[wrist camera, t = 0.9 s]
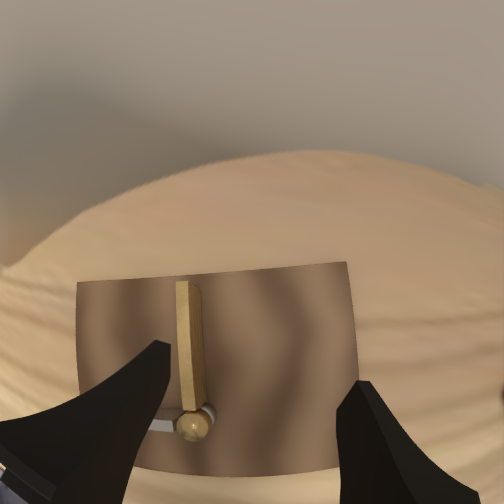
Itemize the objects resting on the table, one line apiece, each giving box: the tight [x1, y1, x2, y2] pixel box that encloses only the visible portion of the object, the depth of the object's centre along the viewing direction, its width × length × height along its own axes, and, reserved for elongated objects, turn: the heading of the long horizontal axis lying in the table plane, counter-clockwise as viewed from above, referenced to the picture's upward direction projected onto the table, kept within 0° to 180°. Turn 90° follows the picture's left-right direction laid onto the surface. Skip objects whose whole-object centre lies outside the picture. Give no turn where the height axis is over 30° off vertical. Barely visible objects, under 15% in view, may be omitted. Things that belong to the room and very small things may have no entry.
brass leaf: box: [176, 281, 212, 442], centre depth 21 cm, size 13×2×4 cm, turn 4°
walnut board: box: [76, 262, 359, 477], centre depth 23 cm, size 28×20×1 cm
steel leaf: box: [148, 402, 217, 432], centre depth 19 cm, size 13×2×4 cm, turn 94°
